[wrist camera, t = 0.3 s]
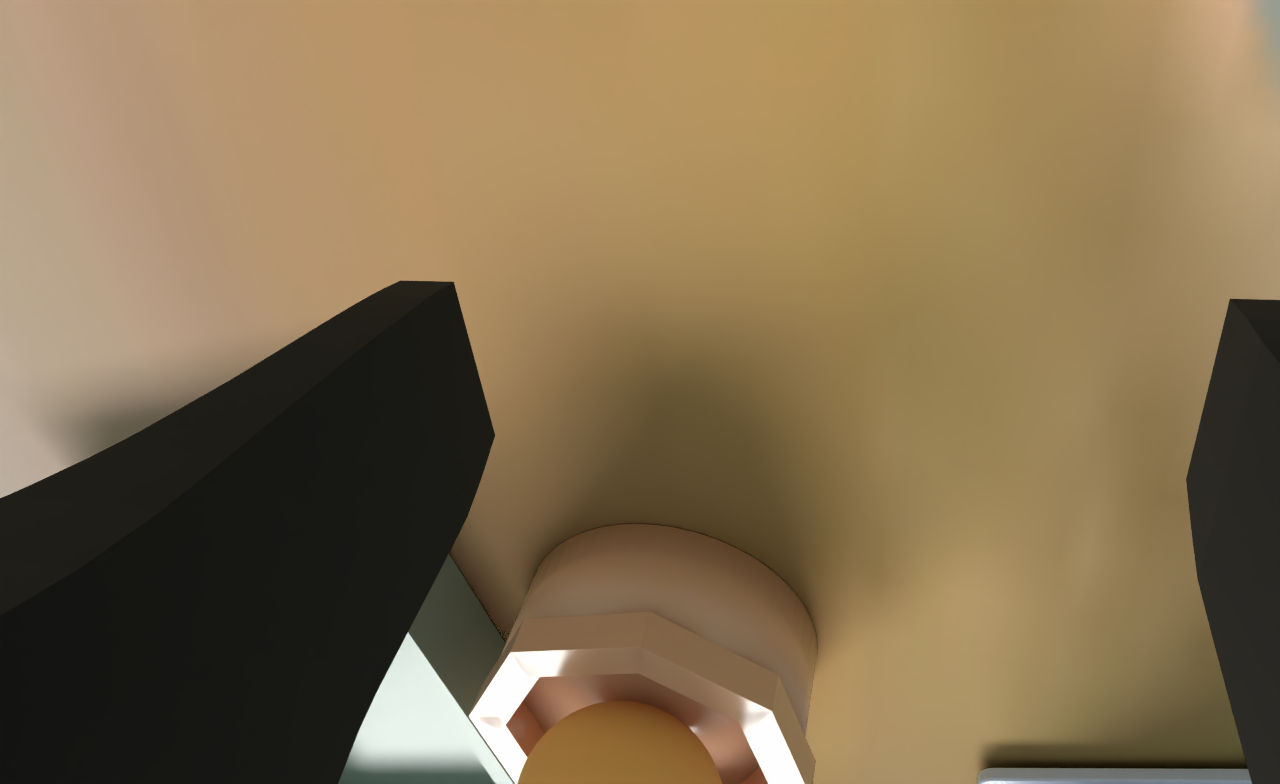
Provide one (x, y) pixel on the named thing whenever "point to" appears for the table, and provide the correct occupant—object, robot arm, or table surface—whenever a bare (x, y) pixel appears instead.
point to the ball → (619, 749)
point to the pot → (659, 650)
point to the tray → (433, 697)
